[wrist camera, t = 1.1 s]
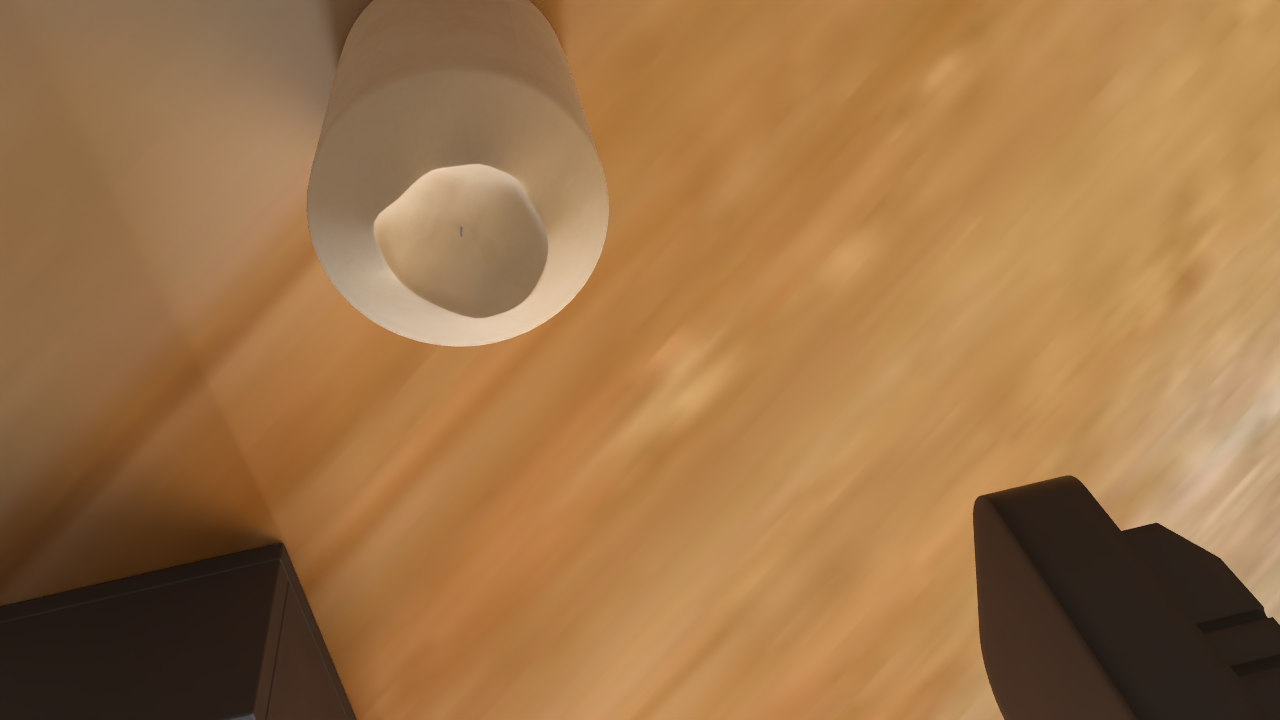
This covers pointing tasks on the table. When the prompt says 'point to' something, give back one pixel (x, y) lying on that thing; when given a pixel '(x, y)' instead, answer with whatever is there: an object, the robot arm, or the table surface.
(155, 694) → the bin
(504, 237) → the candle
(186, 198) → the table surface
